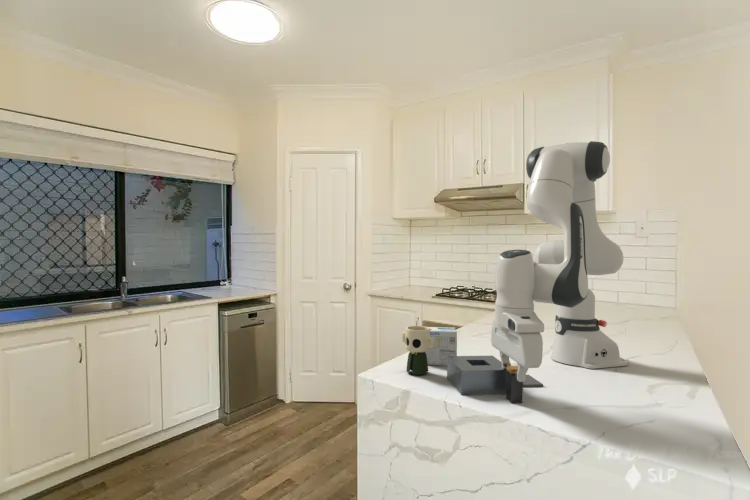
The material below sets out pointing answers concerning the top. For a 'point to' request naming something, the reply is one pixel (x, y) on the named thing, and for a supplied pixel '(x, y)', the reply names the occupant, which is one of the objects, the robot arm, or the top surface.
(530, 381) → the mat
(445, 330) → the light bulb box
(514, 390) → the block
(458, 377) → the block
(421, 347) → the character mug
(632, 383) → the top surface
